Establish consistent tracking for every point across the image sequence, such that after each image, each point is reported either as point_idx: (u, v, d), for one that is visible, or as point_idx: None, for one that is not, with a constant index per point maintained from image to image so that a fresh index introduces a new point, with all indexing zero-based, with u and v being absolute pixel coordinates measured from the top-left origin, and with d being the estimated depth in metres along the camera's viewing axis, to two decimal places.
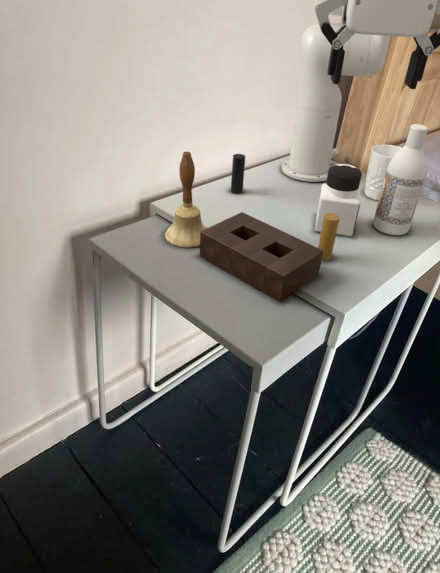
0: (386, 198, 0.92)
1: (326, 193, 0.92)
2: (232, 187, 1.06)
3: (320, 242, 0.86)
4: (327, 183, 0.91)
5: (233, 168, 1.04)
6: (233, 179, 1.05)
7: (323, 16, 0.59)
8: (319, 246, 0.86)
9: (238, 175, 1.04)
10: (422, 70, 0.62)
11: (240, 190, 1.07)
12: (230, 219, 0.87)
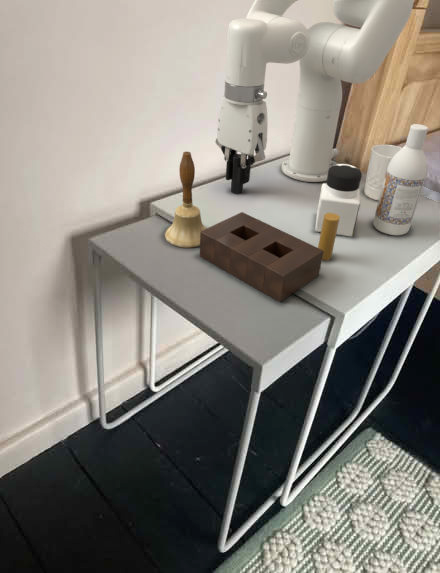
0: (386, 198, 0.92)
1: (326, 193, 0.92)
2: (232, 187, 1.06)
3: (320, 242, 0.86)
4: (327, 183, 0.91)
5: (233, 168, 1.04)
6: (233, 179, 1.05)
7: (219, 144, 1.05)
8: (319, 246, 0.86)
9: None
10: (244, 176, 1.03)
11: (240, 190, 1.06)
12: (230, 219, 0.87)
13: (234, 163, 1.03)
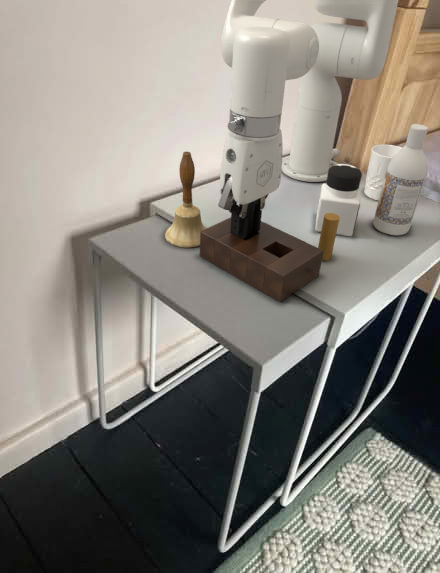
0: (386, 198, 0.92)
1: (326, 193, 0.92)
2: None
3: (320, 242, 0.86)
4: (327, 183, 0.91)
5: None
6: None
7: None
8: (319, 246, 0.86)
9: None
10: None
11: None
12: (230, 219, 0.87)
13: None
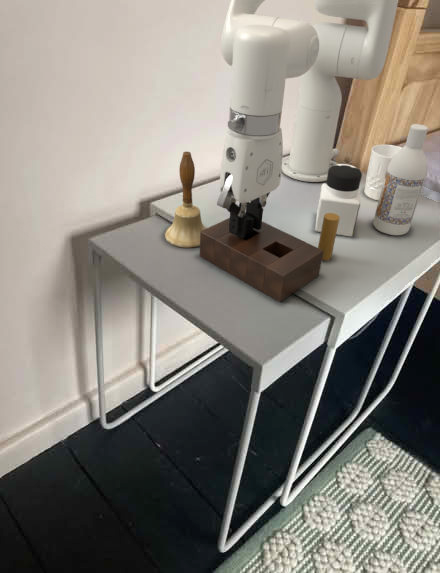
0: (386, 198, 0.92)
1: (326, 193, 0.92)
2: None
3: (320, 242, 0.86)
4: (327, 183, 0.91)
5: None
6: None
7: None
8: (319, 246, 0.86)
9: None
10: None
11: None
12: None
13: None
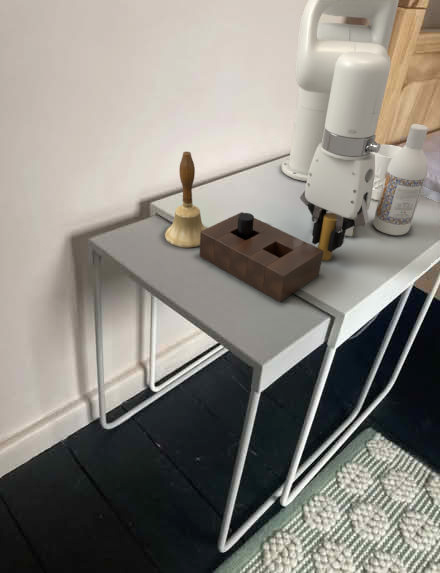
0: (386, 198, 0.92)
1: None
2: None
3: (320, 242, 0.86)
4: None
5: None
6: None
7: (306, 200, 0.85)
8: (319, 246, 0.86)
9: None
10: (337, 241, 0.83)
11: None
12: (230, 219, 0.87)
13: None
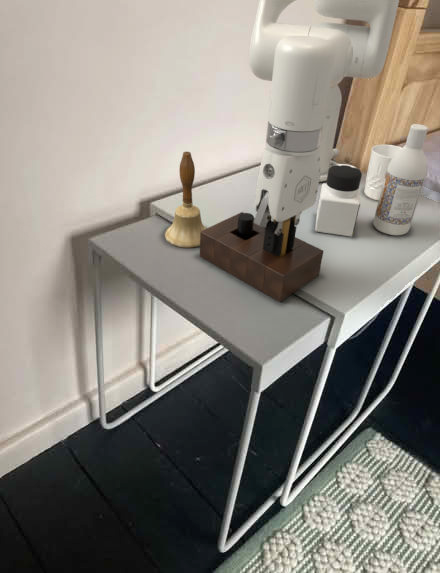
0: (386, 198, 0.92)
1: (326, 193, 0.92)
2: None
3: None
4: (327, 183, 0.91)
5: None
6: None
7: None
8: None
9: None
10: None
11: None
12: (230, 219, 0.87)
13: None
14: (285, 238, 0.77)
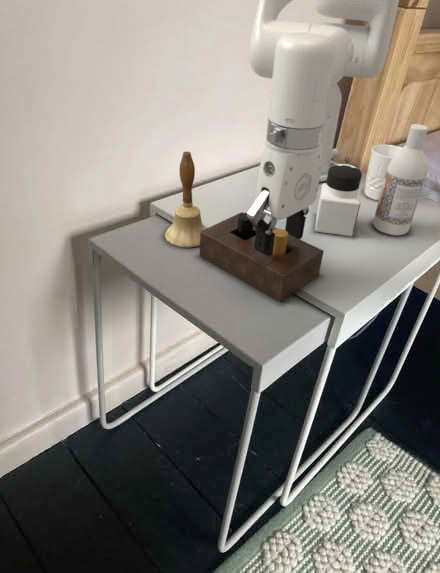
0: (386, 198, 0.92)
1: (326, 193, 0.92)
2: None
3: None
4: (327, 183, 0.91)
5: None
6: None
7: None
8: None
9: None
10: (257, 240, 0.75)
11: None
12: (230, 219, 0.87)
13: None
14: (283, 252, 0.79)
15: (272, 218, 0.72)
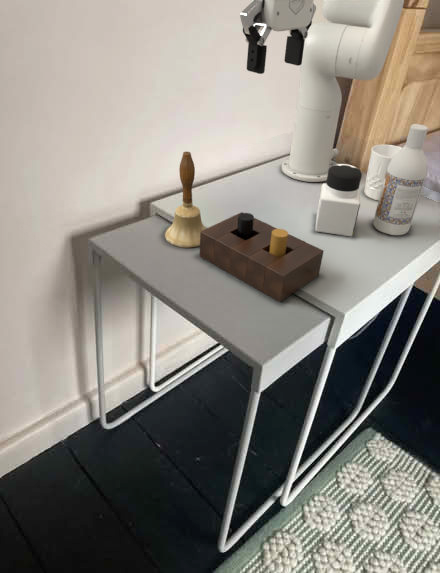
0: (386, 198, 0.92)
1: (326, 193, 0.92)
2: None
3: None
4: (327, 183, 0.91)
5: None
6: None
7: None
8: None
9: None
10: (249, 56, 0.76)
11: None
12: (230, 219, 0.87)
13: None
14: (283, 252, 0.79)
15: (265, 27, 0.73)
